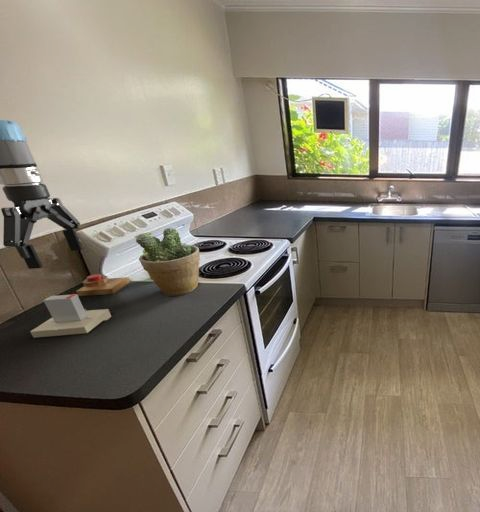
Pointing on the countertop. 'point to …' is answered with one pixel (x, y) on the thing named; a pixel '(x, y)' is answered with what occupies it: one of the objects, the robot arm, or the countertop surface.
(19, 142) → the robot arm
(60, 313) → the white rectangular box
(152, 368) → the countertop surface
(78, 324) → the plate
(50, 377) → the countertop surface
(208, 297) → the countertop surface
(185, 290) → the potted plant
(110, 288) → the button block
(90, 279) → the button
